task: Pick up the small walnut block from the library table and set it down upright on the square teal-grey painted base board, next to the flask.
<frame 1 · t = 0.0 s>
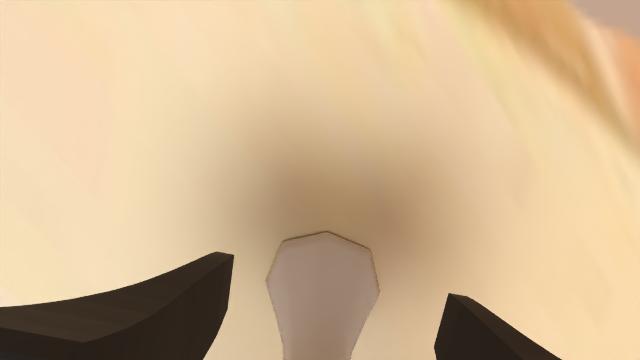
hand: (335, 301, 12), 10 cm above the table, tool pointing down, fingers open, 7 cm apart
flask: (322, 282, 23), on the table
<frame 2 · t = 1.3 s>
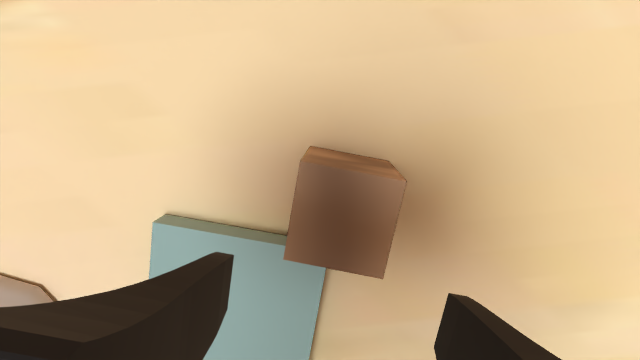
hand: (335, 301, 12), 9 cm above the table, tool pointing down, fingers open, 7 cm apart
walnut block: (341, 191, 21), on the table
flask: (23, 322, 24), on the table
base board: (237, 302, 22), on the table
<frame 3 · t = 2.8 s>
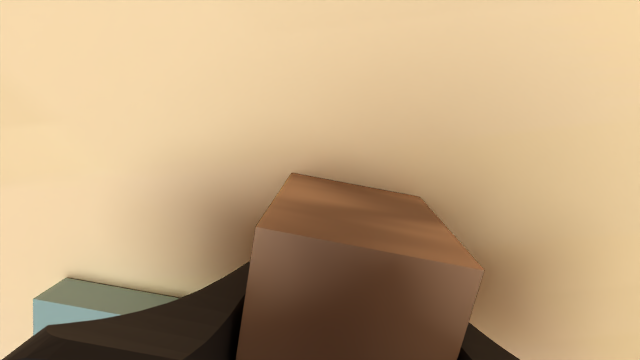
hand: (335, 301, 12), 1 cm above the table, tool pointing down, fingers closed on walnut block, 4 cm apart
walnut block: (343, 244, 13), on the table, touching gripper
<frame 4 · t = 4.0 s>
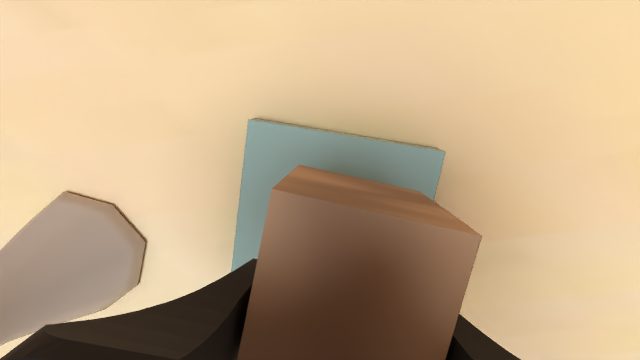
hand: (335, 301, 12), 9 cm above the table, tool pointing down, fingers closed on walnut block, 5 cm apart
walnut block: (345, 236, 13), point 7 cm above the table, touching gripper
flask: (91, 249, 22), on the table
base board: (330, 219, 20), on the table
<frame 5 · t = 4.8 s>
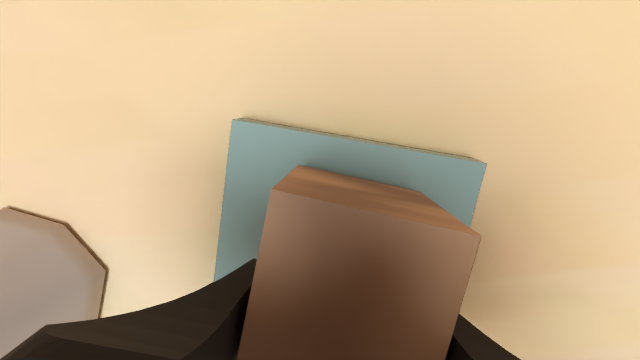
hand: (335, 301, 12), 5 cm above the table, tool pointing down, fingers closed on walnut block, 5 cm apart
walnut block: (345, 236, 13), point 3 cm above the table, touching gripper
flask: (40, 277, 18), on the table
base board: (336, 245, 16), on the table
when the fingers open (4 cm above the table, at t = 5.4 s): walnut block stays where it is, resting on base board.
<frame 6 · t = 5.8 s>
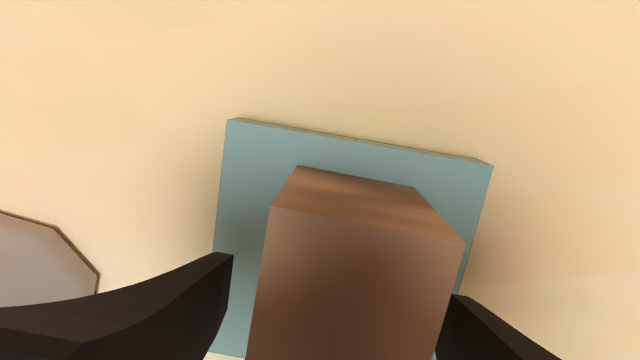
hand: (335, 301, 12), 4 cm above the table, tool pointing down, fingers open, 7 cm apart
walnut block: (343, 231, 14), point 1 cm above the table, touching base board
flask: (29, 283, 17), on the table
base board: (336, 250, 16), on the table
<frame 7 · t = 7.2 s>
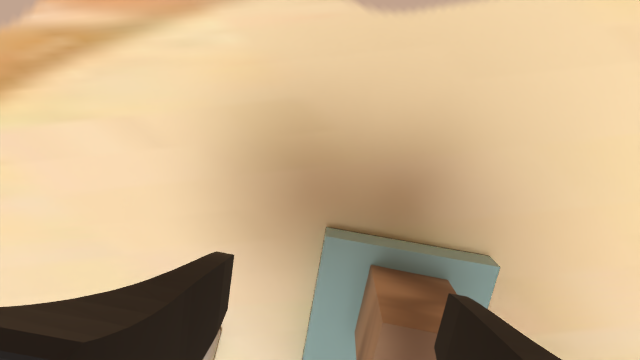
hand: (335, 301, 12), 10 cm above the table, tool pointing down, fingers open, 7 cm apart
walnut block: (400, 306, 21), point 1 cm above the table, touching base board
base board: (390, 314, 23), on the table
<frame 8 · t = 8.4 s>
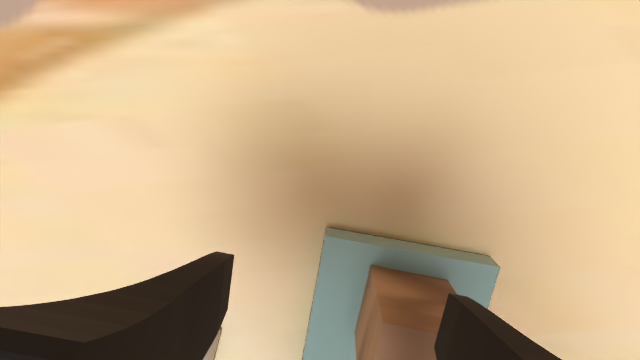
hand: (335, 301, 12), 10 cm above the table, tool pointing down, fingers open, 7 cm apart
walnut block: (400, 306, 21), point 1 cm above the table, touching base board
base board: (390, 314, 23), on the table
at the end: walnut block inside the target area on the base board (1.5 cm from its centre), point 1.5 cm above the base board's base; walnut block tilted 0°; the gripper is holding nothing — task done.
